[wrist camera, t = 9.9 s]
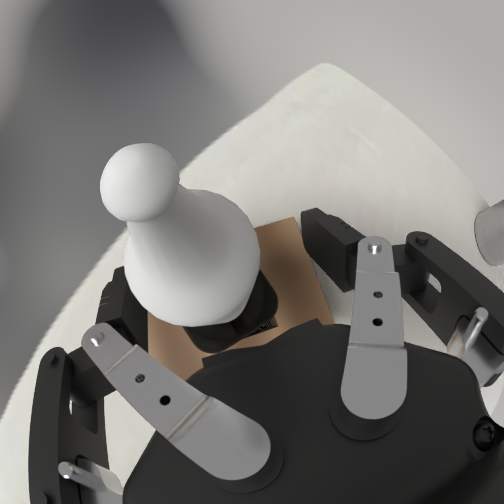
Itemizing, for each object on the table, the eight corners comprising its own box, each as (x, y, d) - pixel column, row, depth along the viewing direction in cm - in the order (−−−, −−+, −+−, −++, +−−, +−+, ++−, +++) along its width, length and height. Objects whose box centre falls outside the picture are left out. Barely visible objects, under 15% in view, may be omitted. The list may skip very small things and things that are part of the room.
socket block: (285, 230, 29) (293, 216, 25) (321, 330, 27) (336, 330, 23) (138, 276, 26) (125, 268, 23) (170, 380, 24) (161, 389, 20)
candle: (235, 271, 27) (225, -1, 3) (265, 314, 26) (478, 241, 2) (192, 299, 26) (-37, 158, 2) (221, 343, 25) (74, 508, 1)
